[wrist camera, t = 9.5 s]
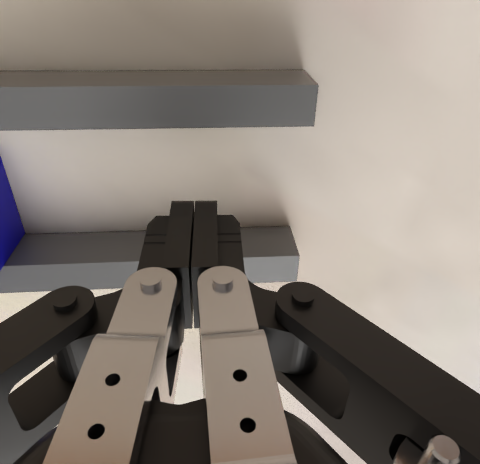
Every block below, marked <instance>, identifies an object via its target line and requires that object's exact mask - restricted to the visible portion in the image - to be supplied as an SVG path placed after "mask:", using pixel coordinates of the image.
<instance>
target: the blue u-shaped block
mask: <svg viewBox="0 0 480 464" xmlns="http://www.w3.org/2000/svg"><path fill="white" fill-rule="evenodd" d="M24 234H25V231H24V228H23V225H22V222H21V218H20V215H19V212H18V209H17V206H16V203H15V200H14V197H13V194H12V190H11V187H10V184H9V181H8V178H7V175H6V172H5V169H4V166H3V162H2V159H1V156H0V271H1V269H2V268H3V266H4V265H5V263H6V262H7V260H8V259H9V257H10V255H11V254H12V252H13V251H14V249H15V248H16V246H17V245H18V243H19V242H20V240H21V239H22V237H23V236H24Z"/></svg>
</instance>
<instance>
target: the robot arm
mask: <svg viewBox="0 0 480 464" xmlns="http://www.w3.org/2000/svg"><path fill="white" fill-rule="evenodd" d="M193 311H194V328H199V330H200V352H201V367H202V382H203V397H204V399H200V400H197V401H193V402H189V403H186V404H181V405H176V404H174V398H175V392H176V386H177V380H178V374H179V368H180V362H181V356H182V342H183V338H184V329H186V328H192V322H193ZM52 356H53V359H54V361H53V362H51V363H50V364H49V365H47V366H46V367H45V368H43V369H42V370H41V371H39V372H38V373H37V374H35V375H34V376H33V377H31V378H30V379H29V380H27V381H26V382H25V383H23V384H22V385H21V386H20V387H18V388H17V389H16V390H14V391H13V392H12V393H10V391H11V389H12V388H13V387H14V385H15V384H16V383H18V382H19V381H20V380H21V379H23V378H24V377H25V376H27V375H28V374H29V373H31V372H32V371H33V370H35V369H36V368H37V367H39V366H40V365H42V364H43V363H44V362H46V361H47V360H48V359H50V358H51V357H52ZM277 382H279V383H280V384H281V385H282V386H283V387H284V388H285V389H286V390H287V391H288V392H289V393H291V394H292V395H293V396H294V397H295V398H296V399H297V400H298V401H299V402H300V403H301V404H303V405H304V406H305V407H306V408H307V409H308V410H309V411H310V412H311V413H312V414H313V415H315V416H316V417H317V418H318V419H319V420H320V421H321V422H322V423H323V424H324V425H325V426H327V427H328V428H329V429H330V430H331V431H332V432H333V433H334V434H335V435H336V436H337V437H339V438H340V439H341V440H342V441H343V442H344V443H345V444H346V445H347V446H348V447H349V448H351V449H352V450H353V451H354V452H355V453H356V454H357V455H358V456H359V457H360V458H361V459H363V460H364V461H365V462H366V463H367V464H480V394H479V393H477V392H476V391H474V390H473V389H471V388H470V387H468V386H467V385H465V384H464V383H462V382H461V381H459V380H458V379H456V378H455V377H453V376H452V375H450V374H448V373H447V372H445V371H444V370H442V369H441V368H439V367H438V366H436V365H435V364H433V363H432V362H430V361H429V360H427V359H426V358H424V357H423V356H421V355H420V354H418V353H417V352H415V351H414V350H412V349H411V348H409V347H408V346H406V345H405V344H403V343H402V342H400V341H399V340H397V339H396V338H394V337H393V336H391V335H390V334H388V333H387V332H385V331H384V330H382V329H381V328H379V327H378V326H376V325H375V324H373V323H372V322H370V321H369V320H367V319H366V318H364V317H363V316H361V315H360V314H358V313H357V312H355V311H354V310H352V309H351V308H349V307H348V306H346V305H345V304H343V303H342V302H340V301H339V300H337V299H336V298H334V297H333V296H331V295H330V294H328V293H327V292H325V291H324V290H322V289H321V288H319V287H317V286H315V285H313V284H310V283H306V282H292V283H288V284H286V285H284V286H282V287H281V288H280V289H279V290H278V292H274V291H269V290H265V289H262V288H260V287H258V286H256V285H254V284H253V283H251V282H250V281H249V280H248V278H247V277H246V275H245V270H244V260H243V250H242V241H241V231H240V223H239V222H238V221H237V220H236V219H235V217H234V216H233V215H217V201H195V212H194V201H172V203H171V209H170V215H169V216H156V217H155V218H154V219H153V220H152V221H151V222H150V223H149V224H148V226H147V230H146V234H145V238H144V244H143V247H142V251H141V256H140V260H139V264H138V268H137V271H136V272H135V273H133V274H132V275H131V276H129V278H128V279H127V280H126V282H125V285H124V287H123V289H121V290H119V291H116V292H114V293H110V294H106V295H102V296H98V297H94V295H93V293H92V292H91V291H90V290H89V289H87V288H85V287H82V286H66V287H61V288H58V289H56V290H53V291H52V292H50V293H48V294H46V295H45V296H43V297H42V298H40V299H38V300H37V301H35V302H34V303H32V304H30V305H29V306H27V307H26V308H24V309H22V310H21V311H19V312H17V313H16V314H14V315H13V316H11V317H9V318H8V319H6V320H5V321H3V322H1V323H0V464H348V463H347V462H346V461H345V460H344V459H343V458H342V457H341V456H340V455H339V454H338V453H337V452H336V451H335V450H334V449H333V448H332V447H331V446H330V445H329V444H328V443H327V442H326V441H325V440H324V439H323V438H322V437H321V436H320V435H319V434H318V433H317V432H316V431H315V430H314V429H313V428H311V427H310V426H309V425H308V424H306V423H305V422H304V421H303V420H301V419H300V418H298V417H296V416H295V415H293V414H291V413H289V412H287V411H285V410H284V409H283V405H282V401H281V397H280V393H279V388H278V384H277ZM9 393H10V394H9ZM57 425H58V426H57ZM56 426H57V427H56ZM54 427H55V428H54ZM53 428H54V429H53Z"/></svg>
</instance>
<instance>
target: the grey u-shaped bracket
mask: <svg viewBox="0 0 480 464" xmlns="http://www.w3.org/2000/svg"><path fill="white" fill-rule="evenodd" d="M317 94H318V84H317V83H316V82H315V81H314V80H313V79H312V78H311V77H310V75H309V74H308V73H307V72H306V71H305V70H142V71H0V131H5V130H78V129H151V128H224V127H298V126H314V121H315V112H316V103H317ZM240 231H241V241H242V250H243V260H244V270H245V275H246V277H247V278H248V280H249V281H250V282H251V283H266V282H291V281H297V274H298V265H299V253H298V250H297V247H296V243H295V240H294V237H293V234H292V231H291V228H290V226H286V227H254V228H240ZM145 234H146V231H122V232H89V233H56V234H24V236H23V237H22V239H21V240H20V242H19V243H18V245H17V246H16V248H15V249H14V251H13V252H12V254H11V255H10V257H9V259H8V260H7V262H6V263H5V265H4V266H3V268H2V269H1V271H0V293H14V292H39V291H53V290H56V289H58V288H61V287H66V286H82V287H85V288H87V289H89V290H90V289H115V288H123V287H124V285H125V282H126V280H127V279H128V278H129V276H131V275H132V274H133V273H135V272H136V271H137V268H138V264H139V260H140V256H141V251H142V247H143V244H144V238H145Z"/></svg>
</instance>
